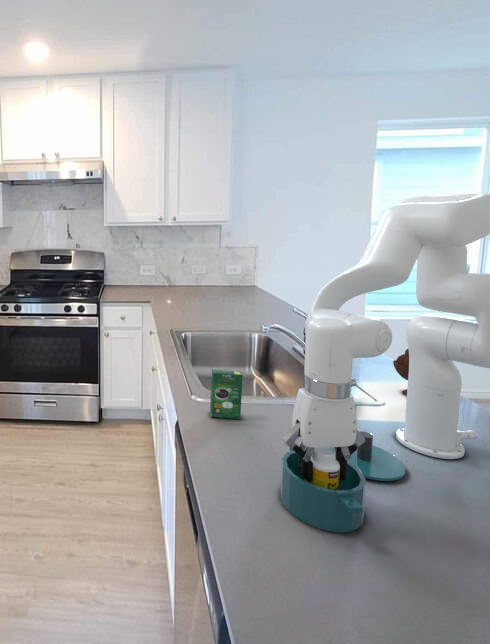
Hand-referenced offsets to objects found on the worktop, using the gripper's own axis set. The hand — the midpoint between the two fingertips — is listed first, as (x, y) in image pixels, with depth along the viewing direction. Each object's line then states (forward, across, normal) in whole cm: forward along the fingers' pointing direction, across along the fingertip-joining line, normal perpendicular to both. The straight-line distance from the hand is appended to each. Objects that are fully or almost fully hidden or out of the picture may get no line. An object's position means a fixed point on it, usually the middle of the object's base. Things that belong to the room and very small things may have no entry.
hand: (321, 475), depth 77 cm
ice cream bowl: (+6, -57, -46) cm, 73 cm away
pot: (+6, 0, 0) cm, 6 cm away
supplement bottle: (+5, 0, 0) cm, 5 cm away
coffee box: (+6, +5, -36) cm, 37 cm away
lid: (+6, -18, -13) cm, 23 cm away
